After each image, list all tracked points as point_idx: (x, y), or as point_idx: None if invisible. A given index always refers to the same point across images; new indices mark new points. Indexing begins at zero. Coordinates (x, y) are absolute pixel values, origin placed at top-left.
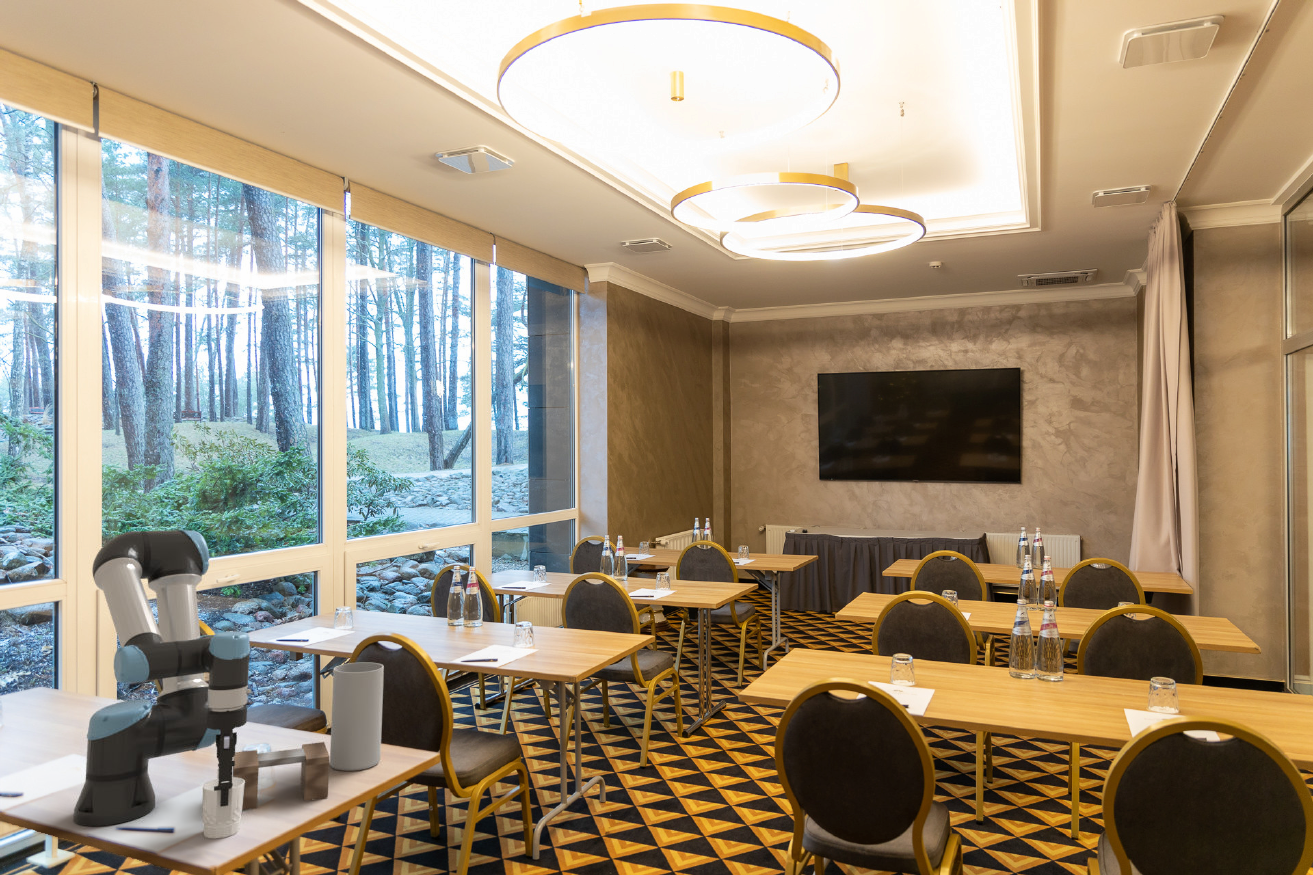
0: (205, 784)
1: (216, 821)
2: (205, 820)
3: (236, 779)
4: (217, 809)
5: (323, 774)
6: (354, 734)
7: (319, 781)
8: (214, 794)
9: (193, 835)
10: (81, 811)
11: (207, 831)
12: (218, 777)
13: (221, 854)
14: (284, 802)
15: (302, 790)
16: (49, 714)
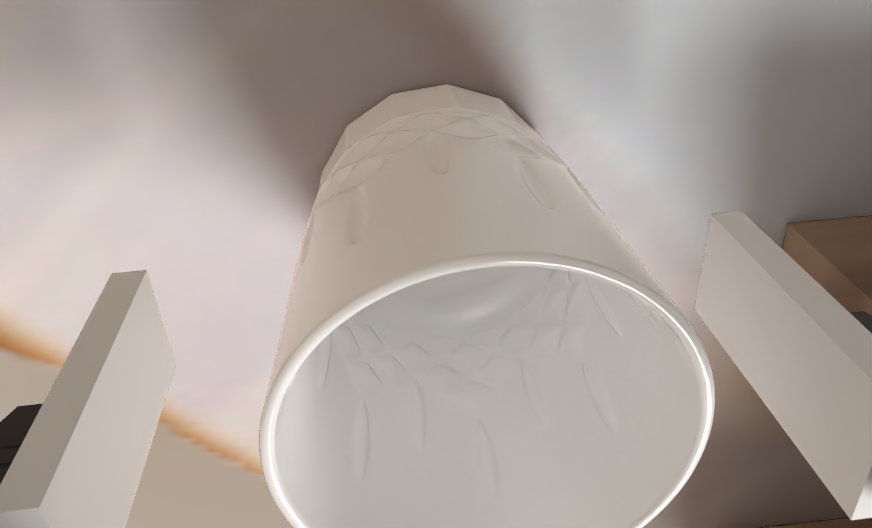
0: (576, 271)
1: (109, 282)
2: (374, 145)
3: (631, 507)
4: (76, 353)
5: None
6: None
7: None
8: (276, 363)
9: (449, 9)
10: None
11: (357, 132)
12: (829, 349)
13: (27, 232)
14: (756, 459)
15: (862, 521)
16: None
